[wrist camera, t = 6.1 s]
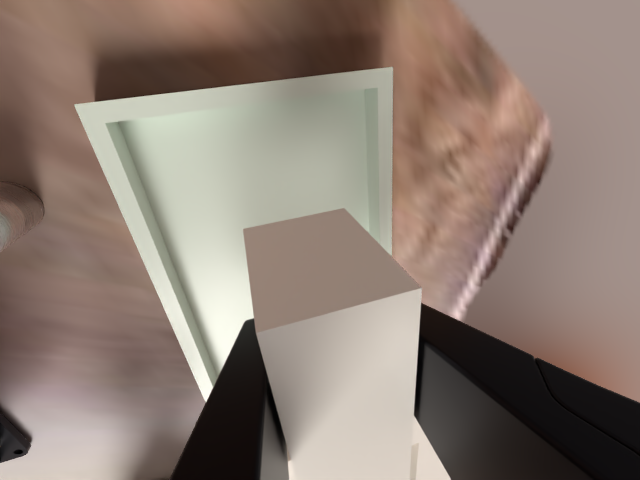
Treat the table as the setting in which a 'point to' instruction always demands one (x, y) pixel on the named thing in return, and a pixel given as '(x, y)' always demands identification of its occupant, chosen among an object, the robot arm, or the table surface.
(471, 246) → the table surface
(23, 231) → the grey knob with bar
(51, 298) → the table surface
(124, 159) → the tray
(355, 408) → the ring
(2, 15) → the table surface
